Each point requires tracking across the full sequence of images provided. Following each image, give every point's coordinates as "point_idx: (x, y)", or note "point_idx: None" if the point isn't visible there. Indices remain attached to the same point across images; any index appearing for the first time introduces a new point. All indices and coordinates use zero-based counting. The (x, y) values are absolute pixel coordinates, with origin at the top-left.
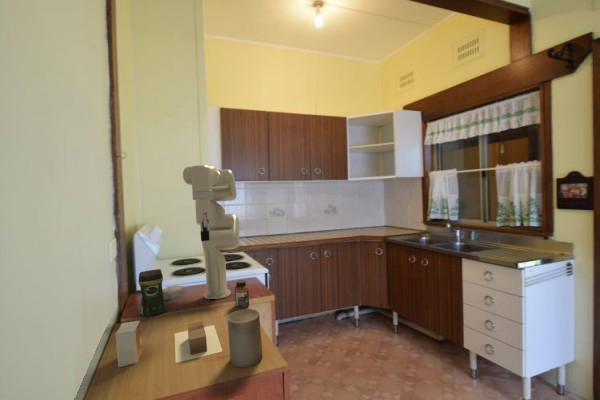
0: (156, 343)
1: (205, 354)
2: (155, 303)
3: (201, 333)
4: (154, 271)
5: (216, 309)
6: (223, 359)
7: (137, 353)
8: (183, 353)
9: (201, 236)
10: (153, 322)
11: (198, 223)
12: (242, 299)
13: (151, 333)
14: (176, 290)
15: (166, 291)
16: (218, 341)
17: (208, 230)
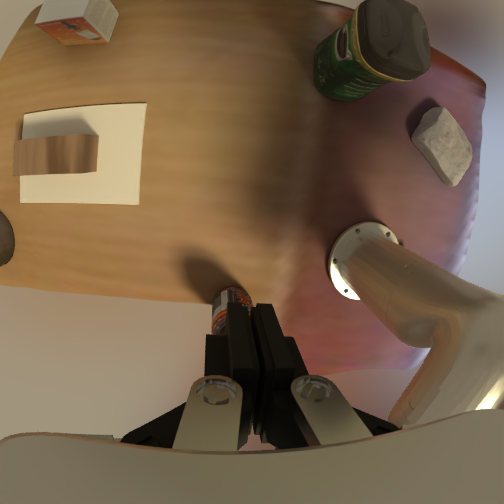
0: (125, 66)
1: None
2: (324, 63)
3: (26, 166)
4: (395, 38)
5: (253, 233)
6: (4, 200)
7: (58, 40)
8: (44, 126)
9: (229, 330)
10: (265, 60)
11: (8, 437)
12: (212, 312)
13: (191, 52)
14: (433, 155)
15: (434, 126)
16: (54, 200)
17: (261, 442)
